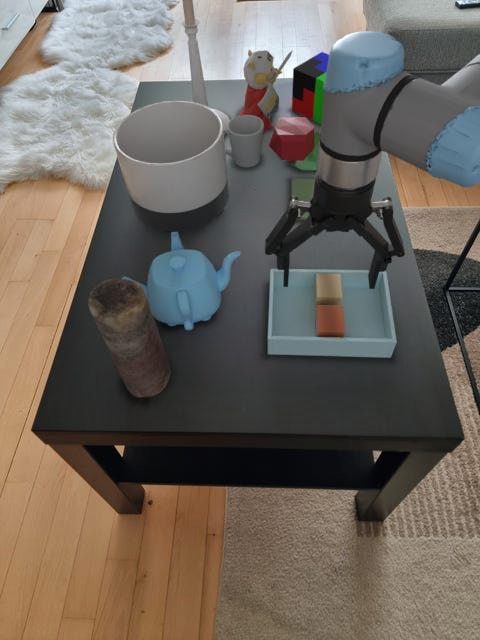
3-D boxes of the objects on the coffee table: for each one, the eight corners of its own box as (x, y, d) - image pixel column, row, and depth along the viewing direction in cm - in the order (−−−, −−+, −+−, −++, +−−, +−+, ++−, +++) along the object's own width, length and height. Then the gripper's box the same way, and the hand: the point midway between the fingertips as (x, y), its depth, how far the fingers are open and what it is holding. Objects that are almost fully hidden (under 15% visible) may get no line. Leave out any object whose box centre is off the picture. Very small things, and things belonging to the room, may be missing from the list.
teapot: (187, 260, 89) (177, 214, 80) (245, 295, 84) (241, 249, 75) (127, 313, 83) (109, 270, 74) (185, 354, 77) (173, 313, 68)
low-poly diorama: (270, 135, 111) (270, 98, 104) (358, 135, 109) (364, 98, 102) (267, 176, 102) (266, 139, 95) (362, 177, 100) (369, 139, 93)
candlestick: (226, 108, 118) (215, -35, 94) (233, 138, 111) (222, -9, 87) (175, 115, 118) (150, -28, 94) (178, 145, 110) (152, -1, 86)
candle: (139, 351, 78) (104, 269, 62) (180, 363, 76) (155, 282, 60) (117, 391, 74) (73, 315, 58) (160, 405, 72) (127, 330, 56)
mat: (349, 180, 100) (349, 178, 100) (353, 220, 93) (353, 218, 93) (291, 180, 101) (291, 178, 101) (291, 219, 94) (291, 217, 94)
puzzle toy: (318, 93, 120) (322, 51, 112) (350, 107, 116) (356, 65, 108) (291, 109, 116) (293, 68, 108) (323, 125, 112) (327, 83, 104)
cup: (264, 170, 103) (263, 135, 97) (218, 171, 104) (214, 136, 97) (264, 149, 108) (264, 114, 101) (220, 150, 109) (217, 115, 102)
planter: (151, 175, 105) (132, 97, 90) (238, 182, 102) (232, 103, 87) (123, 237, 94) (96, 160, 79) (219, 247, 91) (209, 169, 76)
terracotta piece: (339, 322, 79) (343, 305, 75) (341, 347, 76) (344, 331, 72) (315, 321, 79) (317, 304, 75) (315, 347, 76) (318, 331, 73)
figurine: (281, 134, 111) (283, 68, 99) (233, 130, 113) (229, 65, 101) (290, 103, 118) (292, 38, 106) (245, 100, 120) (242, 36, 108)
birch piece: (337, 290, 83) (340, 273, 79) (339, 314, 80) (342, 297, 76) (314, 290, 83) (316, 273, 79) (314, 313, 80) (317, 296, 76)
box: (381, 287, 83) (386, 270, 79) (390, 357, 75) (396, 342, 71) (270, 285, 85) (270, 268, 81) (267, 354, 76) (267, 338, 73)
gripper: (443, 154, 61) (404, 265, 78) (248, 153, 63) (252, 262, 80) (454, 193, 57) (410, 301, 74) (244, 191, 59) (249, 297, 76)
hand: (328, 281), depth 77 cm, fingers open, 13 cm apart
